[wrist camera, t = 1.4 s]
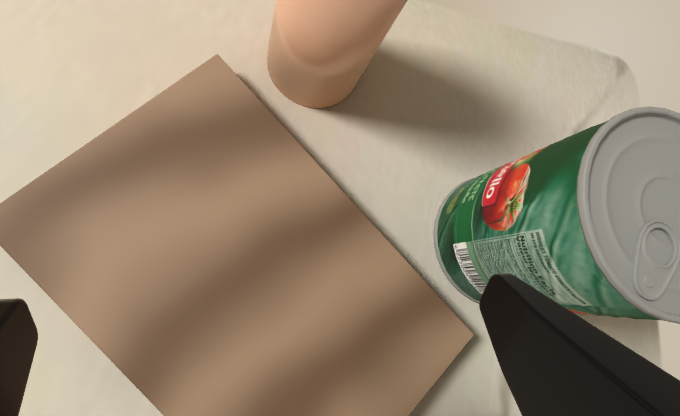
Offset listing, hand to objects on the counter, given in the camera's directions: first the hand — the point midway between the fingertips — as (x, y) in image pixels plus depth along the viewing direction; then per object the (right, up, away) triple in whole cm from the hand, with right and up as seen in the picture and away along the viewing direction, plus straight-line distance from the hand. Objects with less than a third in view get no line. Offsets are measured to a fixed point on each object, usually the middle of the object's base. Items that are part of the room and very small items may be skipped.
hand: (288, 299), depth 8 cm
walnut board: (-3, -2, +13) cm, 14 cm away
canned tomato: (+10, 0, +17) cm, 20 cm away
